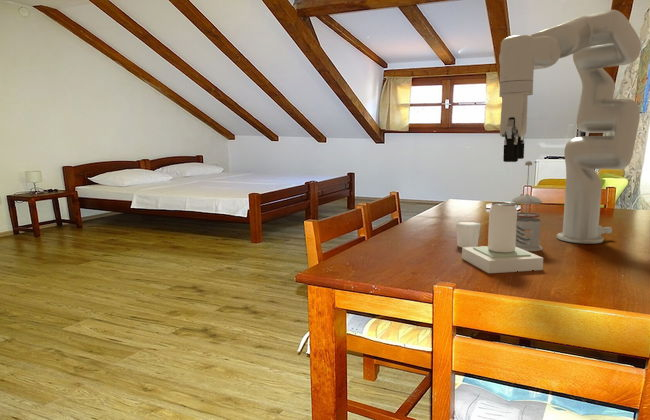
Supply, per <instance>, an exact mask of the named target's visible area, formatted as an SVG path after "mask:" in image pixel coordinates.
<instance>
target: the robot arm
mask: <svg viewBox="0 0 650 420" xmlns="http://www.w3.org/2000/svg"><path fill="white" fill-rule="evenodd" d="M641 50H642V44H641V40H640V36H639V35H638V33H637V31H636V30H635V29H634V27H633V25H632V24H631V21H629V19H628V18H627V17H626V16H625V15H624V13H622V12H621V11H619V10H616V9H610V10H605V11H599V12H595V13H594V12H593V13H589V14H584V15H580V16H578V17H575V18H573V19H570V20H568V21H566V22H564V23H561V24H558V25H555V26H552V27H549V28H546V29H544V30H541V31H537V32H535V33H532V34H529V35H528V34H518V35H512V36H511V35H510V36H508V37H506V38H503V40H502V41H501V42H500V52H499V55H498V62H499V94H498V95H499V98H502V101H501V110H500V112H501V113H500V124H499V125H500V127H499V136H500V137H501V138H504V143H503V144H504V145H503V157H502V159H503V162H504V163H517V162H519V160H523V159H524V158H525V138H524V137H525V135H526V133H527V124H528V99H529V98H528V96H532V95H534V94H533V93H534V74H535V73H534V70H542V69H546V68H547V69H548V68H550V67H552V66H554V65H555V64H556V63H557V62H558V61H559V59H563V58H566V57H569V56H571V55H572V59H573V63H574V66H575V68H576V70H577V72H578V75H579V78H580V80H581V84H582V85H581V86H582V88H581V95H580V101H579V105H578V110H577V115H576V128H577V129H578V130H579V131H580V132H582V133H587V134H588V133H589V134H591V133H592V134H595V133H597V134H600V133H601V134H607V133H609V134H610V133H614V135H590V136H589V135H584V136H583V135H582V136H577V137H574V138H571V139H570V140H568V141H567V143H565V147H564V149H563V150H564V153H563V155H564V161H565V173H566V175H565V190H564V191H565V192H564V193H565V195H564V207H563V209H564V210H563V222H562V232H559V233H557V234H556V238H557V239H558V240H560V241H563V242H568V243H573V244H585V245H586V244H588V245H589V244H590V245H591V244H594V245H595V244H601V243H603V242H604V237H603V236H602V235H603V234H611V233H613V228H612V227H611V226H605V227H603V225H599V224H600V213H601V198H602V187H603V184H602V180H601V177H600V175H598V173H597V172H596V170H599V169H600V170H622V169H625V168H627V167H628V166H629V165H630V163H631V160H632V158H633V154H634V150H635V145H636V141H637V140H636V139H637V134H638V128H639V124H640V117H641V116H640V114H641V112H640V106H639V104H638V102H636V100H634V99H631V98H617V99H616V98H615V99H614V96H615V90H616V83H615V80H614V79H613V78H612V76H611V75H610V74H609V73H608V72H607V71H606V70H605V69H604V68H611V67H619V66H625V65H629V64H632V63H634V62H636V60H637V59H638V58H639V57H640V55H641Z"/></svg>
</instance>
